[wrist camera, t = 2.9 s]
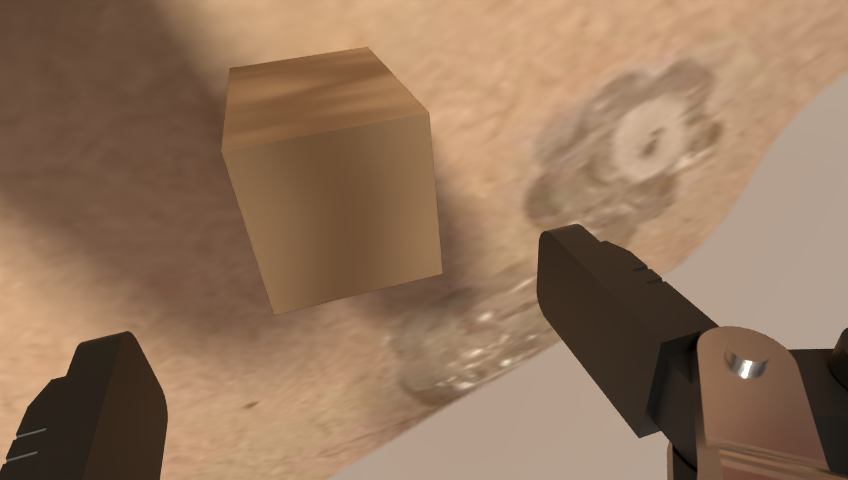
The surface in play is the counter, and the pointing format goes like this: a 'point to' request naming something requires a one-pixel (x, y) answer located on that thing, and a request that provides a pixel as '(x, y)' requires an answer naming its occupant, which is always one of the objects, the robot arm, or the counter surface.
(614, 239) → the counter surface
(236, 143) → the walnut block
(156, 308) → the counter surface
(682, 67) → the counter surface
